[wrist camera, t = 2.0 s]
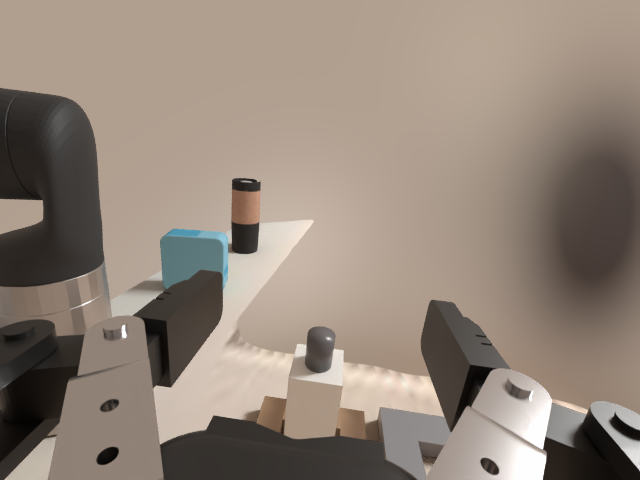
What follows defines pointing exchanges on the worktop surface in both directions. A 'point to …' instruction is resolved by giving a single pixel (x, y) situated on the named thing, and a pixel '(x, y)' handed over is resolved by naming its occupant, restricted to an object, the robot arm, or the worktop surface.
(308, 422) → the plug
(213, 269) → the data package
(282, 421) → the brown square frame
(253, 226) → the travel mug
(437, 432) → the port plate
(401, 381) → the worktop surface
